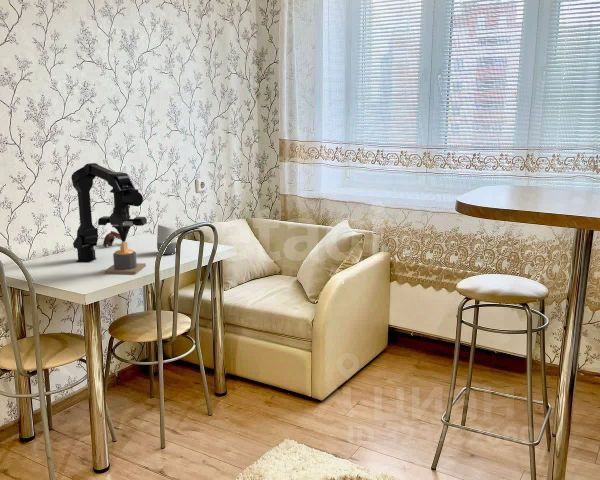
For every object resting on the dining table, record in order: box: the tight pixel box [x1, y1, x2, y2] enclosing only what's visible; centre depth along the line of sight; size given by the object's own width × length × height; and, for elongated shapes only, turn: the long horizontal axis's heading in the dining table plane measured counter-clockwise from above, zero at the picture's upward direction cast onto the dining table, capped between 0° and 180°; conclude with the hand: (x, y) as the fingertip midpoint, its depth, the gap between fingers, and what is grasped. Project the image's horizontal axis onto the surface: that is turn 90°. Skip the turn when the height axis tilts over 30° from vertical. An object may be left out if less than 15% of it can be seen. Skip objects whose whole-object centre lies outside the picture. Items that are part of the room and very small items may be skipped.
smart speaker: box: [156, 223, 178, 255], centre depth 276 cm, size 10×9×14 cm
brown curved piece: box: [102, 230, 123, 248], centre depth 292 cm, size 12×10×8 cm
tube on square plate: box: [103, 250, 147, 275], centre depth 248 cm, size 13×13×7 cm
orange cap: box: [114, 241, 134, 255], centre depth 247 cm, size 7×7×6 cm
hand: (123, 241), depth 246 cm, fingers closed
